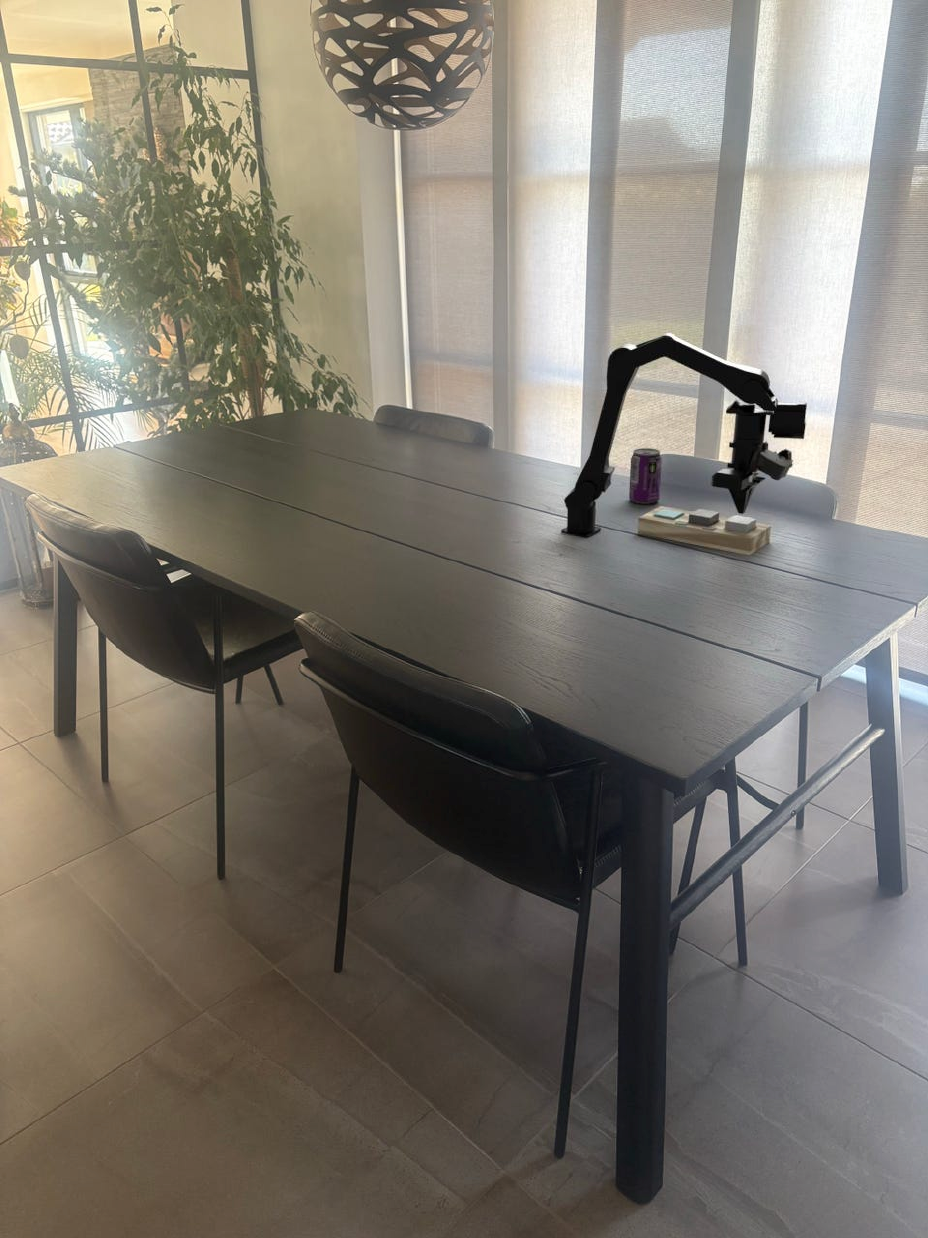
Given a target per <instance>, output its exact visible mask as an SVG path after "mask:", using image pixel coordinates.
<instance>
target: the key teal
mask: <svg viewBox="0 0 928 1238" xmlns="http://www.w3.org/2000/svg"><path fill="white" fill-rule="evenodd" d="M683 515H684V512H680V511H675V510H669V509H663V510H661V511H659V512H657V513H655V514H654V517H659V518H665V519H670V520H676V519H678V518H679V517H681V516H683Z"/></svg>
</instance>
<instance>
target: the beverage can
mask: <svg viewBox="0 0 928 1238" xmlns="http://www.w3.org/2000/svg"><path fill="white" fill-rule="evenodd" d="M662 459H663V458H662V456H661V451H660V450H659V449H655V448H647V447H646V448H636V449H634V450H633V453H632V455H631V457H630V471H629V491H628V493H629V494H628V499H629V500H631V501H632V502H634V503H635V502H636V503H635V504H639V503H641V504H640V505H650V503H651V504H654V503H656V502H657V501H659V500H660V498H661V495H660V494H661V482H662V481H661V479H662V478H661V477H662V476H661V475H662V461H663V460H662Z"/></svg>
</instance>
